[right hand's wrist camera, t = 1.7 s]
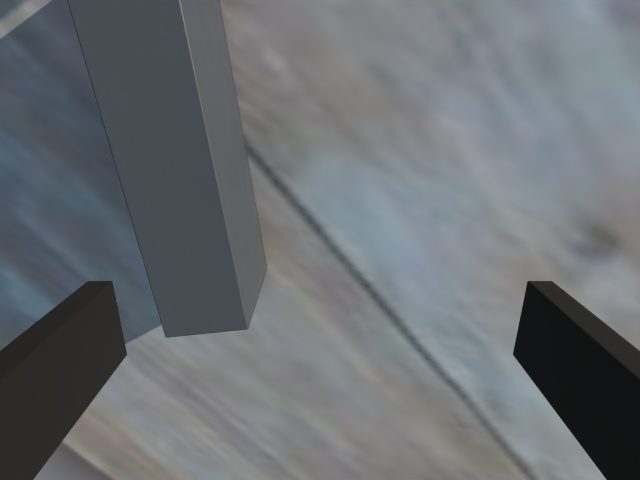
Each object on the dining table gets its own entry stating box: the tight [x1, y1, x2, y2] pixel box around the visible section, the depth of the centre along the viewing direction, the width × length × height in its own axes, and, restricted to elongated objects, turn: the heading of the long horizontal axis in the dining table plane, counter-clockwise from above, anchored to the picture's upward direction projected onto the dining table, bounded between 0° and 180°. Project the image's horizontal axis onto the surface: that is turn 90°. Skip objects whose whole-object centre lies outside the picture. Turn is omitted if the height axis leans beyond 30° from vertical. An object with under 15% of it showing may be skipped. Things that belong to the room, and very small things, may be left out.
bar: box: [67, 0, 267, 337], centre depth 24 cm, size 22×5×9 cm, turn 7°
